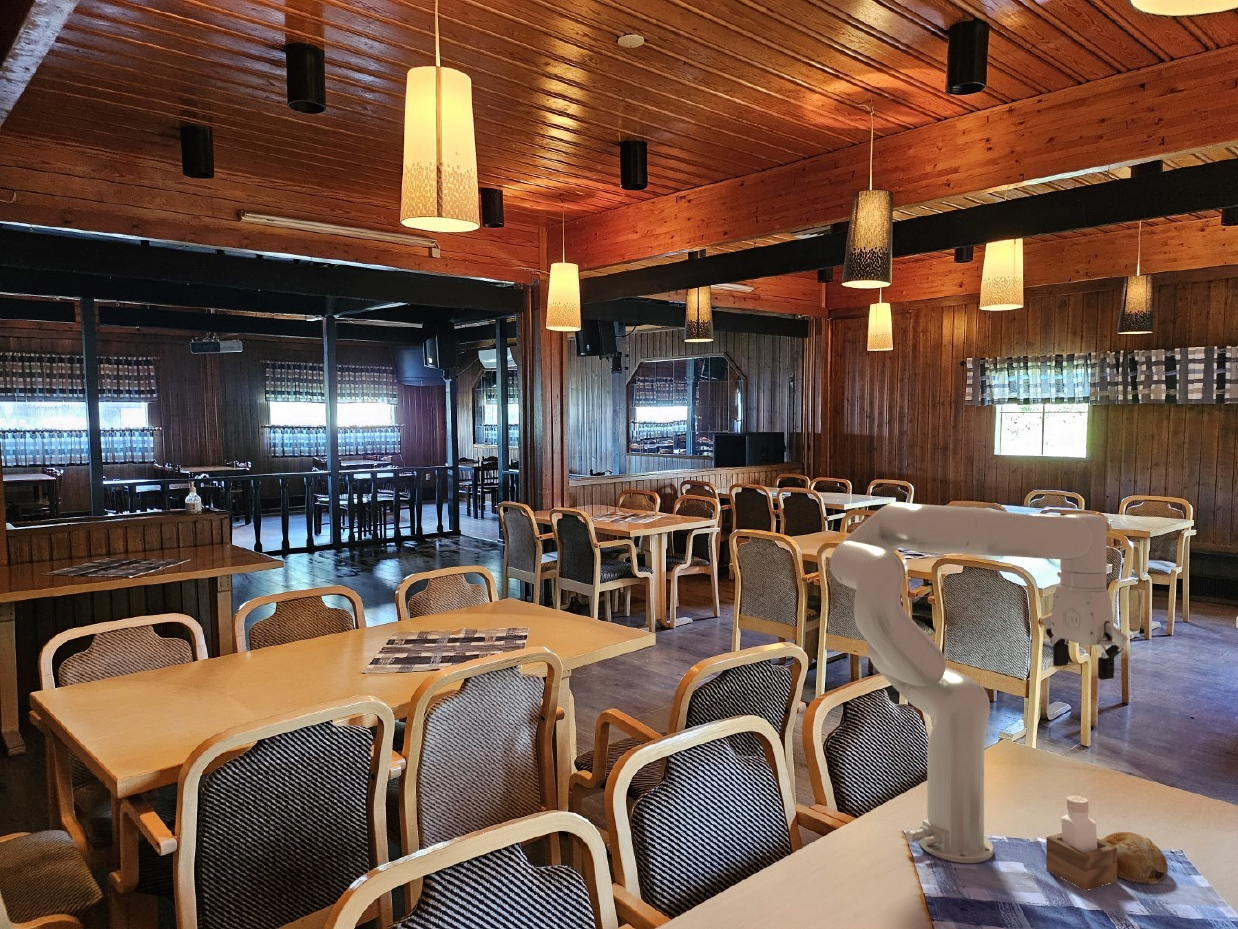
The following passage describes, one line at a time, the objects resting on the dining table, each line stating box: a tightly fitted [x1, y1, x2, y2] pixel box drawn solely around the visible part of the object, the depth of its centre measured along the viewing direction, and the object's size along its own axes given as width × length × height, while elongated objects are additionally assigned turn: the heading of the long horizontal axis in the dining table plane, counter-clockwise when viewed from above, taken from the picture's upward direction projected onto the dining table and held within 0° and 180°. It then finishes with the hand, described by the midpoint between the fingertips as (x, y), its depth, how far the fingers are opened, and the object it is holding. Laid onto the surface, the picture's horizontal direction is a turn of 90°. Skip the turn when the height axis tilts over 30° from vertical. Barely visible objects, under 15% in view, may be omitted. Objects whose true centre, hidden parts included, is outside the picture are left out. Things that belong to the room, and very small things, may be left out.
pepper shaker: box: [1061, 795, 1098, 853], centre depth 141 cm, size 4×4×10 cm
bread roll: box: [1100, 831, 1169, 886], centre depth 142 cm, size 10×10×8 cm
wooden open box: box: [1045, 832, 1118, 891], centre depth 140 cm, size 7×7×6 cm
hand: (1082, 671), depth 155 cm, fingers open, 9 cm apart
